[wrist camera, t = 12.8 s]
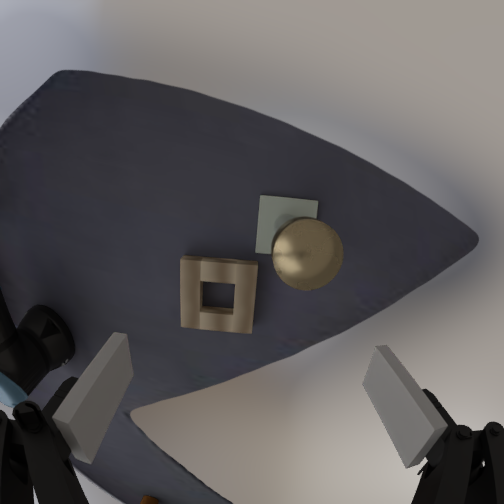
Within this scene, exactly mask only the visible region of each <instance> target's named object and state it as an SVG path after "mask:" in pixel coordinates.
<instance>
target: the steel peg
mask: <svg viewBox="0 0 504 504" xmlns="http://www.w3.org/2000/svg"><path fill="white" fill-rule="evenodd" d="M274 231H275V235H274V237H273V240H272V244H271V256H272V260H273V263H274V267H275V270H276V272H277V274H278V276H279V277H280V278H281V279H282V280H283V281H284V282H285V283H286V284H287V285H289V286H291V287H293V288H295V289H299V290H314V289H318V288H320V287H322V286H324V285H326V284H327V283H329V282H330V281H331V280H332V279H333V278H334V277H335V276H336V274H337V273H338V271H339V269H340V267H341V265H342V261H343V246H342V242H341V240H340V238H339V236H338V234H337V233H336V232H335V231H334V230H333V229H332V228H331V227H330V226H328V225H326V224H325V223H323V222H322V221H320V220H318V219H316V218H313V217H308V216H302V217H296V218H295V217H294V216H292V215H289V214H284V215H281V216H280V217H278V218H277V219H276V221H275V223H274Z"/></svg>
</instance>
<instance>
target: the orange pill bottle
mask: <svg viewBox="0 0 504 504" xmlns="http://www.w3.org/2000/svg"><path fill="white" fill-rule="evenodd" d="M140 504H158V500H157V499H156V498H154V497H151V496H143V498H142V500H141V502H140Z"/></svg>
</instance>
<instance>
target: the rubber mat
mask: <svg viewBox="0 0 504 504" xmlns="http://www.w3.org/2000/svg"><path fill="white" fill-rule="evenodd" d="M317 208H318V201H314V200H306V199H296V198H287V197H276V196H265V195H260V204H259V216H258V228H257V239H256V250H255V253H265V254H271V244H272V240H273V237H274V235H275V231H274V223H275V221H276V219H277V218H278V217H280V216H281V215H284V214H289V215H292V216H294V217H295V218H296V217H302V216H308V217H313V218H316V217H317Z"/></svg>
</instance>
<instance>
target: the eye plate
mask: <svg viewBox="0 0 504 504" xmlns="http://www.w3.org/2000/svg"><path fill="white" fill-rule="evenodd" d="M257 271H258V261H251V260H238V259H225V258H213V257H201V256H189V255H184V256H183V257H182V258H181V259H180V298H181V327H187V328H195V329H204V330H214V331H225V332H237V333H250V334H252V324H253V314H254V303H255V293H256V282H257ZM203 281H207V282H218V283H230V284H235V296H234V309H233V308H222V307H211V306H202V295H203Z"/></svg>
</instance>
